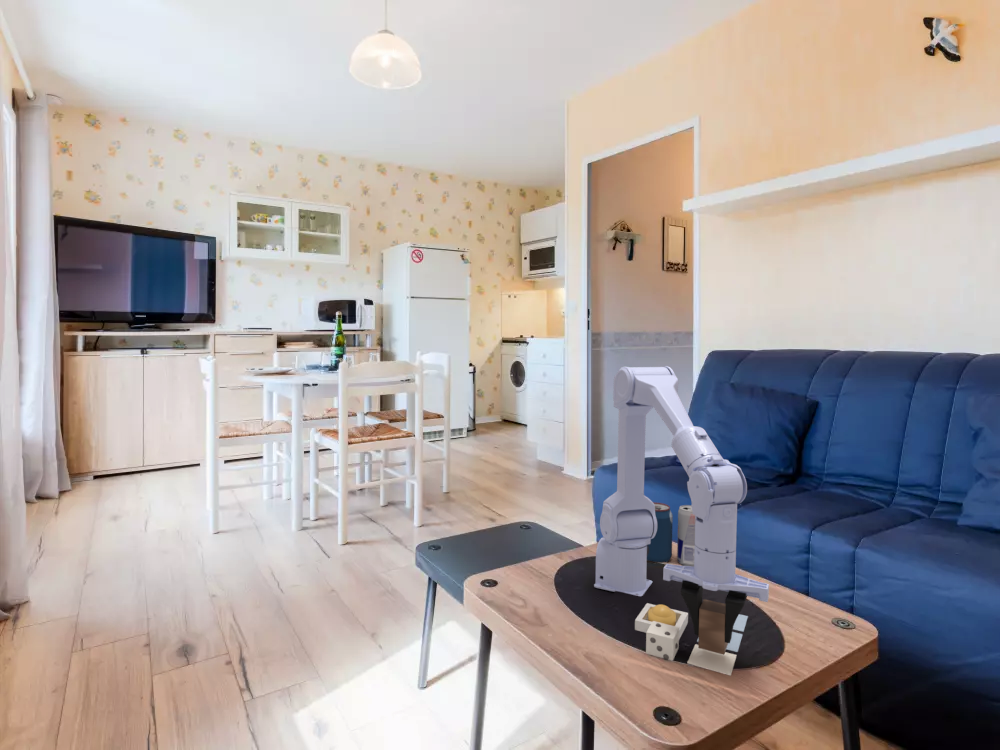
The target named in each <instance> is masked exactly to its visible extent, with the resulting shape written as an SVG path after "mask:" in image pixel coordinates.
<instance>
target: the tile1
mask: <svg viewBox="0 0 1000 750" xmlns="http://www.w3.org/2000/svg"><path fill="white" fill-rule="evenodd" d="M742 638H743V633H740V632H739V633H738V632H734V631H732V638H731V641H730V643H728V645H727V648H726V650H728V651H730V652H735V653H738V652H739V650H740V649H739V648H740V646H741V641H742ZM696 642H697V643H699V636H698V638H697V640H696Z"/></svg>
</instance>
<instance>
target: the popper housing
mask: <svg viewBox="0 0 1000 750" xmlns="http://www.w3.org/2000/svg"><path fill="white" fill-rule="evenodd" d="M656 605H657V604H652V603H648V602H647V603H646V604H645V605H644V607H643V608H642V609H641V611H640V612H639V614H638V615H637V617H636V618H635V620H634V630H635V631H638V632H642V633H645V634H646V632H647V630H648V629H649V627H650V625H651V623H652V622H651V621H648V610H649V609H650V608H651V607H655V606H656ZM670 609H671V610H673V611H674V612H675V613H676V625H675V626H676V627H679V640H680V639H681V637H682V635H683V633H684V631H685V629H686V627H687V625H688V623H689V612H686V611H681V610H677V609H673V608H670Z"/></svg>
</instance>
